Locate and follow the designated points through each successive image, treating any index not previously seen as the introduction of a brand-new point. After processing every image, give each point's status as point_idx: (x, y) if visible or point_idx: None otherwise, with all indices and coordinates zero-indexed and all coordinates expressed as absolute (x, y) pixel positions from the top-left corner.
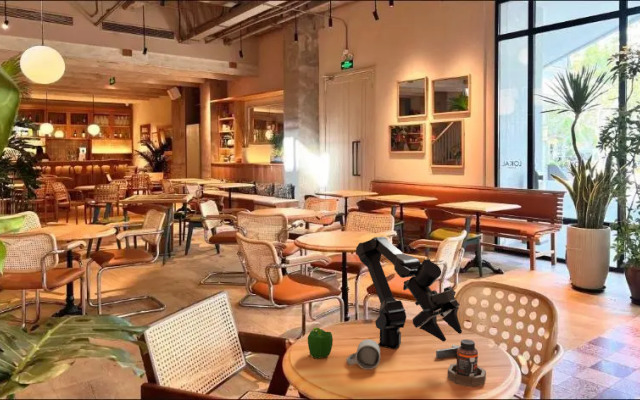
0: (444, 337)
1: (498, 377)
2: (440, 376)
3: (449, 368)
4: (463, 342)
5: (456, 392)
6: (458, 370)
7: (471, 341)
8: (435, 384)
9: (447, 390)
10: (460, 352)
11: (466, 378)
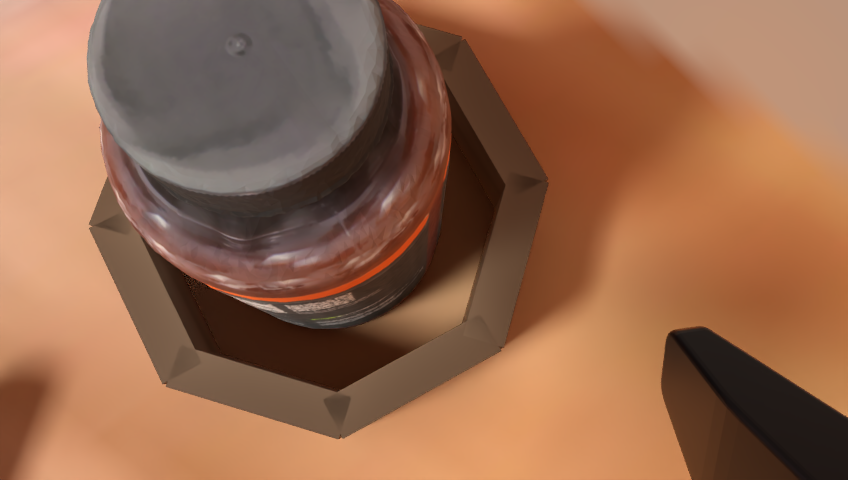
0: (727, 358)
1: (48, 47)
2: (524, 427)
3: (451, 363)
4: (365, 62)
5: (667, 93)
6: (438, 232)
7: (165, 2)
8: (716, 328)
9: (710, 169)
10: (447, 135)
11: (491, 86)
